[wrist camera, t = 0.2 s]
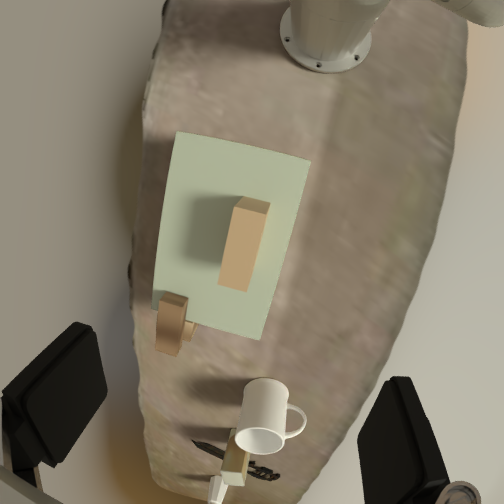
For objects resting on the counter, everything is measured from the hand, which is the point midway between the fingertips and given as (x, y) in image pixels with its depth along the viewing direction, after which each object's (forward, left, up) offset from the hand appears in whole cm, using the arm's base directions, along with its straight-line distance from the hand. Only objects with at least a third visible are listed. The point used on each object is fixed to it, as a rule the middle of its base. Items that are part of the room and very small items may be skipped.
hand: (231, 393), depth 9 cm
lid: (+5, -5, -28) cm, 29 cm away
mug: (+35, +9, -36) cm, 51 cm away
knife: (+63, +7, -37) cm, 73 cm away
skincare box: (+51, +6, -36) cm, 63 cm away
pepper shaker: (+76, +5, -36) cm, 85 cm away
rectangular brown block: (+17, -9, -26) cm, 33 cm away
